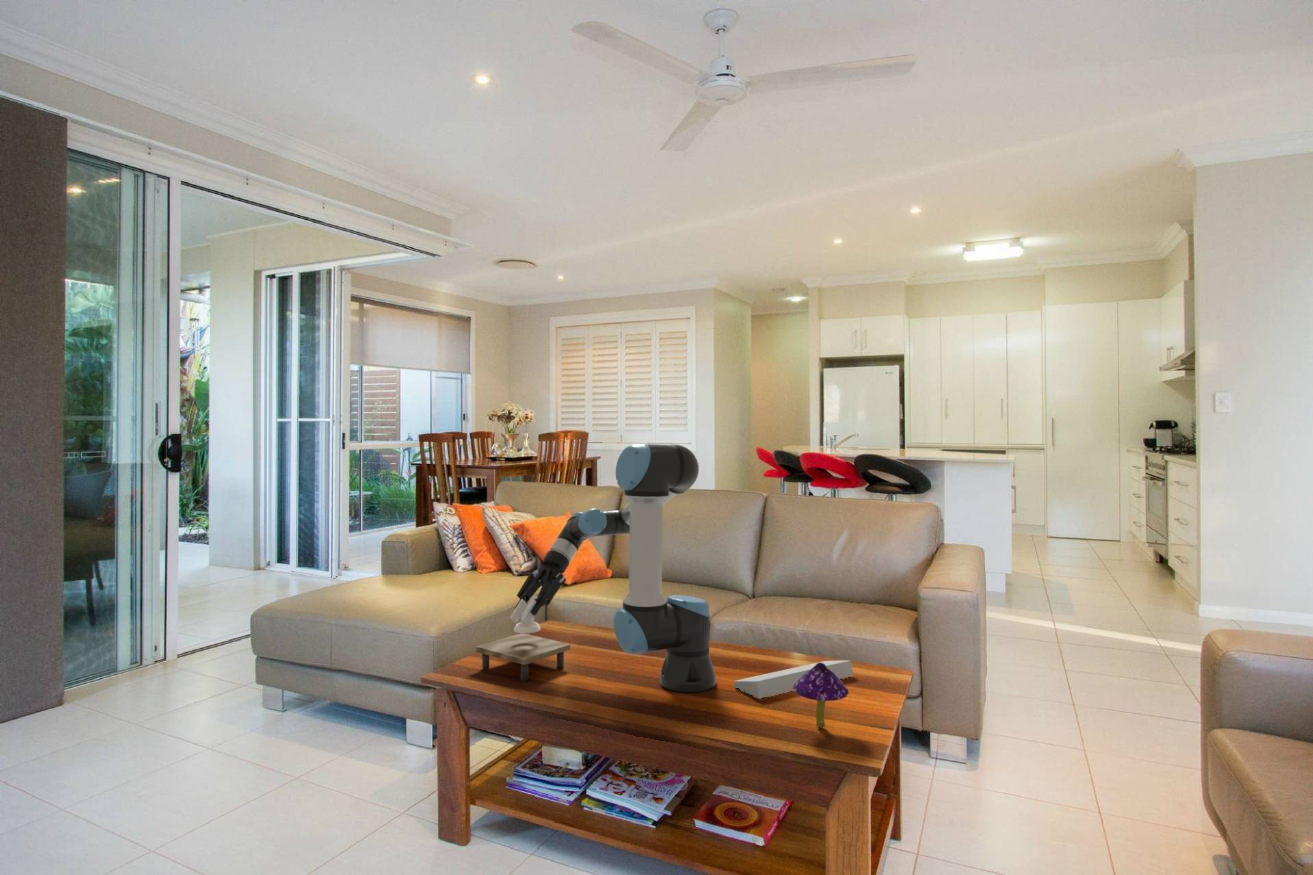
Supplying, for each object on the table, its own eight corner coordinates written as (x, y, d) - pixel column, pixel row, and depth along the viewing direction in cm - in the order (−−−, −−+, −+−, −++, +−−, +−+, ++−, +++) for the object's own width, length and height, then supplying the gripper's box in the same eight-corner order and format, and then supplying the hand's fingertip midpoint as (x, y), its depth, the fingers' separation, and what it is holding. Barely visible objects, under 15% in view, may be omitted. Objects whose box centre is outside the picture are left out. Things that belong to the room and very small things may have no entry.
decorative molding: (736, 700, 184) (759, 701, 176) (733, 681, 185) (756, 681, 177) (828, 678, 202) (854, 678, 194) (825, 660, 203) (850, 660, 195)
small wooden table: (570, 666, 202) (570, 644, 202) (524, 683, 187) (524, 659, 187) (522, 654, 213) (522, 633, 213) (475, 669, 199) (475, 646, 199)
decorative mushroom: (822, 744, 150) (822, 675, 150) (781, 725, 160) (781, 660, 160) (860, 731, 157) (860, 665, 157) (818, 713, 167) (819, 651, 167)
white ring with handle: (558, 608, 207) (548, 599, 202) (537, 645, 202) (527, 636, 197) (538, 599, 211) (528, 590, 206) (518, 635, 206) (507, 627, 201)
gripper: (586, 567, 210) (546, 634, 196) (545, 561, 220) (505, 624, 206) (574, 552, 205) (532, 619, 192) (533, 546, 216) (491, 610, 202)
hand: (518, 621), depth 199 cm, fingers closed on white ring with handle, 4 cm apart
